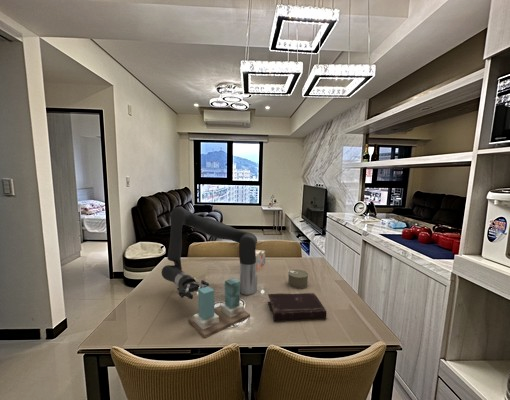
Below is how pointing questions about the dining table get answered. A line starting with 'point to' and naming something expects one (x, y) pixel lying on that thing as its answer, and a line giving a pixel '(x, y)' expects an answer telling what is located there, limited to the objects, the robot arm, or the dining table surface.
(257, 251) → the stack of blocks
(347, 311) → the dining table surface
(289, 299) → the diary
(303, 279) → the can
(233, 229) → the robot arm
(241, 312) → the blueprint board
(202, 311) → the teal pillar
